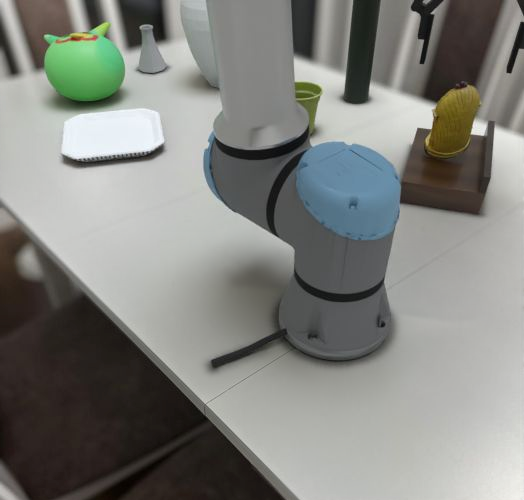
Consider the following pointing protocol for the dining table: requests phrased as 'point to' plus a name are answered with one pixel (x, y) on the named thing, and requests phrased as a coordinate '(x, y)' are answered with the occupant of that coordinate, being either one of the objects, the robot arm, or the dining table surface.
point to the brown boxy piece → (449, 174)
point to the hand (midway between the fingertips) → (464, 66)
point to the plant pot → (308, 98)
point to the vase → (199, 37)
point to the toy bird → (84, 64)
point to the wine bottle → (361, 49)
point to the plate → (112, 135)
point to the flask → (150, 52)
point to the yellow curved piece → (453, 122)
